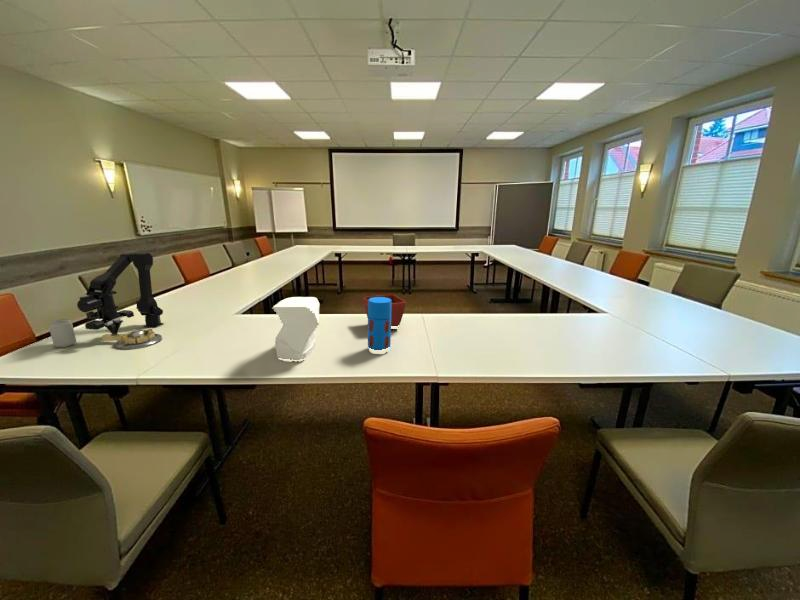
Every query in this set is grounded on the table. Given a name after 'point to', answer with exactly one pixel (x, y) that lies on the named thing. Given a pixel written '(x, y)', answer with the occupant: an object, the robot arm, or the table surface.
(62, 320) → the can
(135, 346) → the cap plate
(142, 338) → the wooden gear crank
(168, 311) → the table surface
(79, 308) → the robot arm
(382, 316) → the thermos
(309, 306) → the white irregular block
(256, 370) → the table surface
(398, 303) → the plant pot
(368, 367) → the table surface
